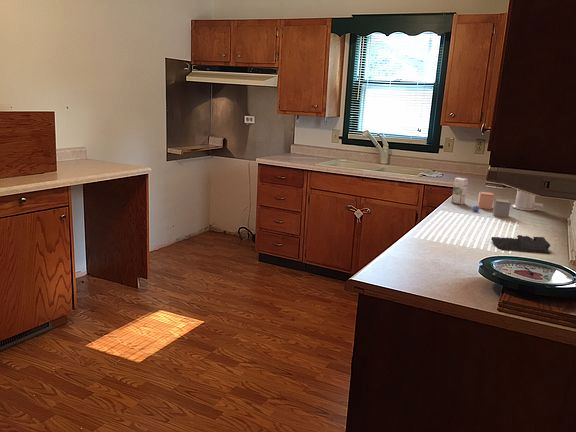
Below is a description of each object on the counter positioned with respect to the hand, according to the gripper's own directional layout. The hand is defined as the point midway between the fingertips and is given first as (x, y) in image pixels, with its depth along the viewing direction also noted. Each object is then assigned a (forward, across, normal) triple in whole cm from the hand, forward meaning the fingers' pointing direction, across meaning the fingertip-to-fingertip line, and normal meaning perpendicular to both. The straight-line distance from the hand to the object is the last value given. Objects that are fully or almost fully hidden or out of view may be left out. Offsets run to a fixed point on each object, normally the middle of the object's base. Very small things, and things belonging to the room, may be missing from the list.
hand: (496, 152), depth 276 cm
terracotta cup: (+30, +4, -2) cm, 31 cm away
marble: (+30, +18, -8) cm, 36 cm away
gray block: (+30, +22, +4) cm, 38 cm away
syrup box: (+31, 0, -16) cm, 34 cm away
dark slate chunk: (+31, +81, +4) cm, 87 cm away
